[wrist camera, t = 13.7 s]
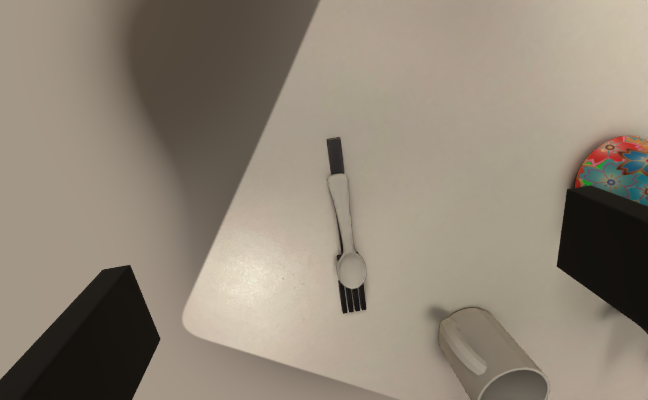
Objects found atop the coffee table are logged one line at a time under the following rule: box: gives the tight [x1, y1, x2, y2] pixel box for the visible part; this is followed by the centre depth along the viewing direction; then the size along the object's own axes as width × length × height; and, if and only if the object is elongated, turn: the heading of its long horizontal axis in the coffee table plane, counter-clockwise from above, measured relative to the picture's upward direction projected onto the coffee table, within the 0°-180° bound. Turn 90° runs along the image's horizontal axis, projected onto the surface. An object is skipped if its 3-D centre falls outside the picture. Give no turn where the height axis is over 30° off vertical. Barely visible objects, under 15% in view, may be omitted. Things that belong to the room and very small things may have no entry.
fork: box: [327, 137, 366, 314], centre depth 34 cm, size 19×3×1 cm, turn 8°
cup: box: [438, 308, 550, 400], centre depth 35 cm, size 7×10×9 cm
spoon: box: [327, 173, 366, 289], centre depth 33 cm, size 3×12×2 cm, turn 9°
